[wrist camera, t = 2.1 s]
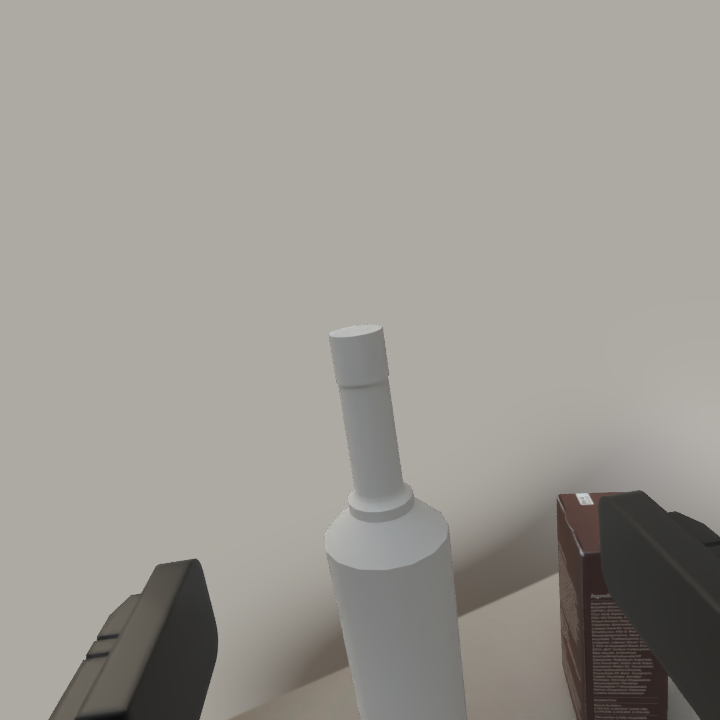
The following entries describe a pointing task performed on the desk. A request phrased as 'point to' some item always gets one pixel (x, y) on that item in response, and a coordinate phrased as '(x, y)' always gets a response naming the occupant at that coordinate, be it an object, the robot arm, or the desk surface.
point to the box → (600, 628)
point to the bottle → (390, 557)
